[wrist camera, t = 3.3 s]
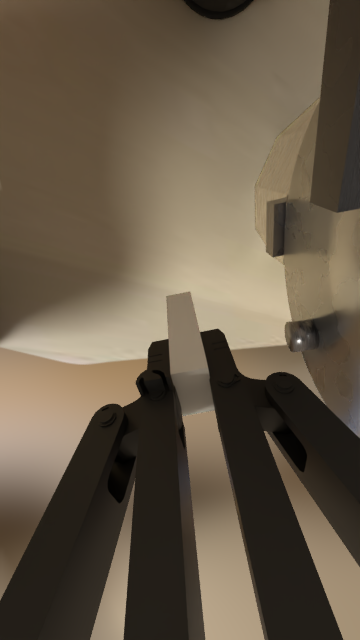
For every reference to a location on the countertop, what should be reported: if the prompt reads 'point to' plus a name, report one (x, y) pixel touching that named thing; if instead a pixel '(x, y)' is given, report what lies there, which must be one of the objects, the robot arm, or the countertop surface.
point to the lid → (329, 226)
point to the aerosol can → (218, 7)
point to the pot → (279, 184)
